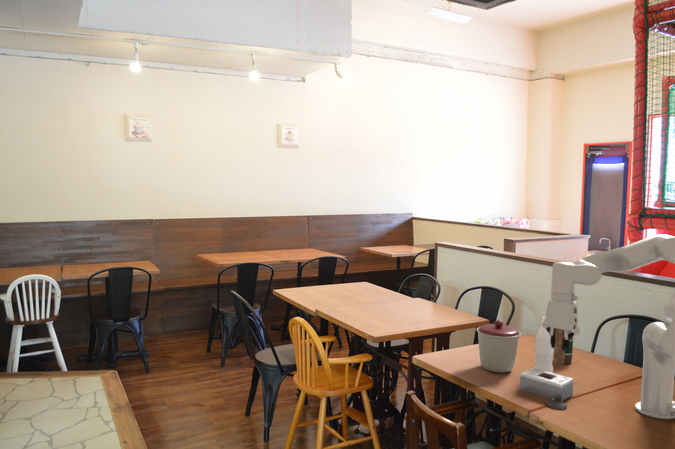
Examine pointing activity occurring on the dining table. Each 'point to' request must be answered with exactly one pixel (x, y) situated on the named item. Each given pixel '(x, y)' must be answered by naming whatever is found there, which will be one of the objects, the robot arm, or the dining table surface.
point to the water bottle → (543, 350)
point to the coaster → (556, 404)
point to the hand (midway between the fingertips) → (559, 347)
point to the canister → (498, 346)
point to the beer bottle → (568, 353)
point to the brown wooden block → (559, 347)
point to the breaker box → (546, 384)
